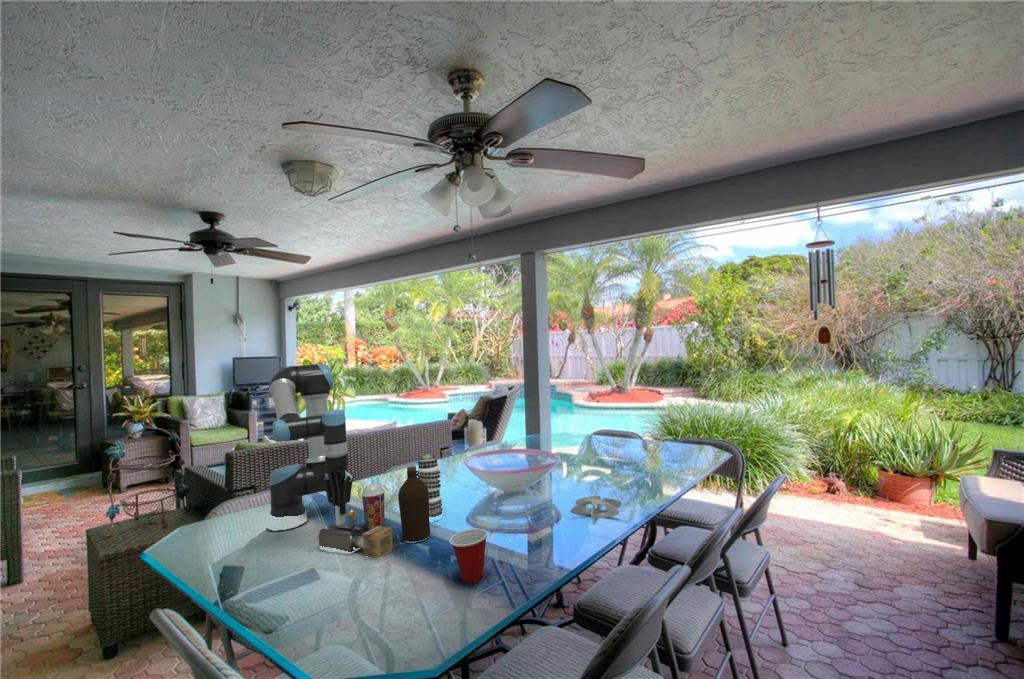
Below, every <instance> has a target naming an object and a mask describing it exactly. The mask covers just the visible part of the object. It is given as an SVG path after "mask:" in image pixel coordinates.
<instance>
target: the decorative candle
mask: <svg viewBox="0 0 1024 679" xmlns="http://www.w3.org/2000/svg"><path fill="white" fill-rule="evenodd" d="M416 462H417V465H418V467H417V469H418V470H417V477H418V478H419V479H420V480H421V481H422V482H423V483H424V484H425V485H426V486H427V488H428V491H429V517H436V516H439V515H441V514H442V512H443V507H442V506H443V503H442V502H443V500H442V498H441V492H440V489H441V486H442V484H441V480H440V479H439V478H441V475H440V474H441V471H440V470H439V465H438V456H437V455H436V454H434V453H425V454H421V455H420V456H419V458H418V459H417V461H416Z"/></svg>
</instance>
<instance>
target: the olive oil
mask: <svg viewBox="0 0 1024 679" xmlns="http://www.w3.org/2000/svg"><path fill="white" fill-rule="evenodd" d="M406 470H407V471H406V475H407V476H406V478H407V479H406V480H404V482H403V484H402V485H401V486H400V488H399V489H398V495H397V500H398V506H399V507H398V508H399V516H400V524H401V535H402V541H403V540H405V541H409V542H413V541H414V542H415V541H419V540H423V539H425V538H427V537H428V536H429V535H430V536H431V527H430V526H431V525H430V524H431V523H430V521H429V491H428V488H427V486H426V485H425V484H424V483H423V482H422V481H421V480H420V479H419V478H418V476H417V471H418V470H417V466H416V465H410V466H407V467H406Z"/></svg>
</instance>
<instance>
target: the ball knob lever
mask: <svg viewBox="0 0 1024 679" xmlns="http://www.w3.org/2000/svg"><path fill="white" fill-rule="evenodd" d="M346 515H347V517H348V522H349V523H348V524H349V525H348V526H350V532H354V535H352V546H353V547H355V548H362V549H363V550H364V546H363V536H359V535H355V527H356V526H355V516H356V511H355V510H354V509H352V508H351V509H349V510H348V511H347V512H346Z"/></svg>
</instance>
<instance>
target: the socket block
mask: <svg viewBox="0 0 1024 679" xmlns="http://www.w3.org/2000/svg"><path fill="white" fill-rule="evenodd" d="M392 529H393V528H392V527H389V526H383V527H381V526H377V527H375V528H373V529H371V530H369V531H368V530H367V531H366V532H363V533H364V534H363V546H364V549H363V555H364V556H368V557H372V558H380V557H382V556H383V555H385V554H386V553H388V552H389V551H391V550H392V549H393V550H394V544H393V542H394V541H393V531H392ZM391 552H392V551H391ZM388 554H389V553H388ZM386 555H387V554H386ZM386 555H385V556H386ZM364 556H363V557H364ZM383 557H384V556H383ZM383 557H382V558H383ZM372 558H371V559H372ZM380 559H381V558H380Z"/></svg>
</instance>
